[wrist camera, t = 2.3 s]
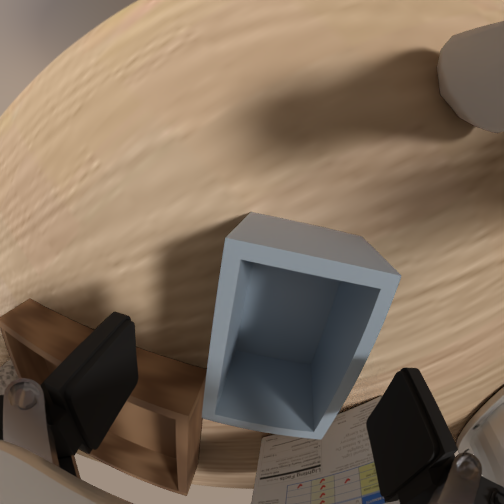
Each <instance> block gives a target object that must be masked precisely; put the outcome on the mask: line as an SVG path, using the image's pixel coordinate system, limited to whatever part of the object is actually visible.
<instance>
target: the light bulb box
mask: <svg viewBox="0 0 504 504" xmlns="http://www.w3.org/2000/svg"><path fill="white" fill-rule="evenodd" d="M381 398H382V396H379V397H377V398H375V399H373V400H371V401H369V402H367V403H364V404H362V405H360V406H357V407H355V408H352V409H350V410H348V411H345V412H342V413H340V414H337V416H336V417H335V419H334V421H333V422H332V424H331V425H330V427H329V429H328V430H327V432H326V433H325V435H324V436H323V438H322V439H321V440H320V439H309V438H300V437H292V436H285V435H278V434H275V435H271V436H267V437H263V438H262V440H261V447H260V453H259V460H258V466H257V473H256V478H255V484H254V491H253V496H252V502H251V504H400V501H399V500H398V501H394V502H388V503H385V501H384V497H382V496H381V494H380V490H379V484H378V479H377V474H376V468H375V463H374V459H373V454H372V449H371V445H370V440H369V436H368V431H367V427H366V422H367V419H368V417H369V416H370V414H371V413H372V411H373V410H374V408H375V407H376V405H377V404H378V402H379V401H380V399H381Z"/></svg>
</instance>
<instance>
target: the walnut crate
mask: <svg viewBox="0 0 504 504" xmlns="http://www.w3.org/2000/svg"><path fill="white" fill-rule="evenodd" d="M0 328H1V331H2V335H3V338H4V341H5V344H6V347H7V350H8V352H9V355H10V358H11V360H12V363H13V366H14V368H15V371H16V373H17V375H18V378H19V379H22V378H27V379H31V380H34V381H36V382H37V383H38V384H39V385H41V384H42V383H43V382H44V380H45V379H46V378H47V377H48V376H49V375H50V374H51V373H52V372H53V371H54V370H55V369H56V368H57V367H58V366H59V365H60V364H61V363H62V362H63V361H64V360H65V359H66V358H67V356H68V355H69V354H70V353H71V352H72V351H73V350H74V349H75V348H76V347H77V346H78V345H79V344H80V343H81V342H83V341H84V340H85V339H86V338H87V337H88V336H89V335H90V334H91V333H92V332H93V331H94V330H93V329H90V328H88V327H86V326H84V325H82V324H79V323H77V322H75V321H73V320H71V319H69V318H67V317H64V316H62V315H60V314H58V313H56V312H54V311H52V310H50V309H49V308H47V307H45V306H43V305H41V304H39V303H37V302H35V301H33V300H32V299H28V300H27V301H25V302H23V303H22V304H20V305H19V306H17V307H15V308H14V309H12V310H11V311H9V312H7V313H6V314H4V315H3V316H1V317H0ZM136 355H137V366H138V382H137V385H136V387H135V388H134V390H133V391H132V393H131V395H130V396H129V398H128V399H127V401H126V403H125V404H124V406H123V408H122V409H121V411H120V412H119V414H118V416H117V417H116V419H115V421H114V422H113V424H112V426H111V427H110V429H109V431H108V432H107V434H106V436H105V437H104V439H103V441H102V442H101V444H100V446H99V447H98V449H96V450H94V449H92V451H91V453H90V454H88V455H90V456H92V457H93V458H95V459H97V460H99V461H101V462H103V463H105V464H107V465H109V466H111V467H113V468H115V469H117V470H119V471H121V472H124V473H126V474H128V475H130V476H133V477H135V478H137V479H140V480H143V481H145V482H147V483H150V484H152V485H155V486H158V487H160V488H163V489H166V490H169V491H172V492H175V493H178V494H182V495H185V496H187V494H188V491H189V488H190V486H191V483H192V480H193V477H194V474H195V471H196V468H197V465H198V459H199V449H200V439H201V429H202V420H203V418H202V408H203V399H204V390H205V382H206V373H207V369H204V368H200V367H197V366H193V365H190V364H186V363H183V362H180V361H176V360H173V359H170V358H167V357H164V356H161V355H158V354H155V353H152V352H149V351H146V350H143V349H141V348H138V347H136ZM79 450H80V449H79ZM86 454H87V453H86Z"/></svg>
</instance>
